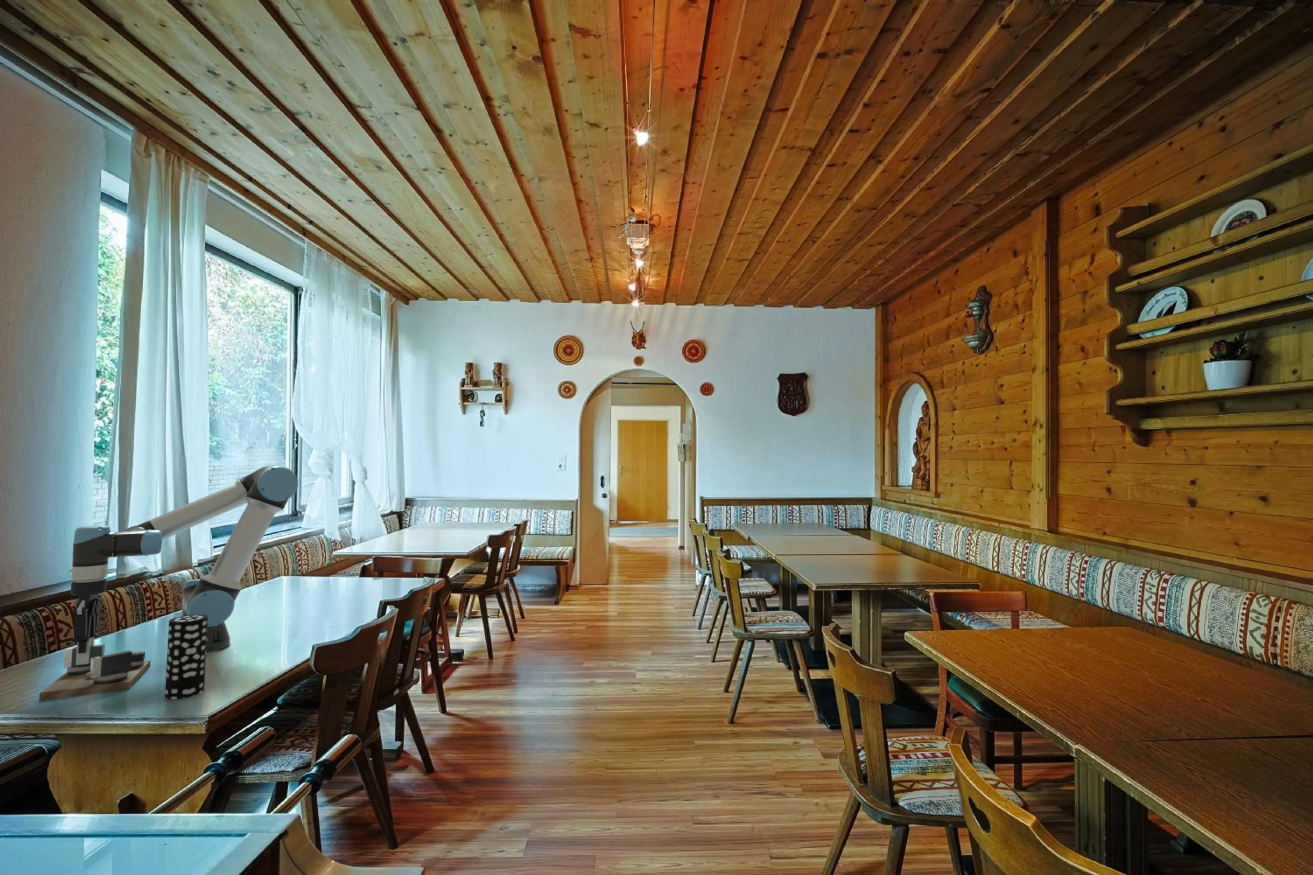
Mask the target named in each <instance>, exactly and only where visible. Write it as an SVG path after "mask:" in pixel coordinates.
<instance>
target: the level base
mask: <svg viewBox="0 0 1313 875" xmlns="http://www.w3.org/2000/svg"><path fill="white" fill-rule="evenodd" d="M151 661H152V660H151V659H149V660H144V664H143V665H142V666H139V667H136V668H132V669H131V670H128V677H126V678H125V679H122V680H119V681H115V682H110V683H94V682H93V679H94V678H93V679H92V678H91V677H90V672H88V673H83V674H67V671H66V672H65V673H63V674H62V675H61V676H59V677H58V678H57V679H56V680H54V681H53V682H51V684H49V685H48V686H47V687H45V688H43V690H41V691H40V692H39V696H38V697H39V699H38V701H39V700H40V701H46V700H45V699H48V700H56V699H63V698H70V697H77V696H86V695H93V694H101V693H102V694H103V693H109V692H110V693H111V692H117V691H118V692H119V691H126V690H130V689H131V688H132V687H133V686H134V684H136V682H138V680H140V678H141V677H143V675H144V674H145V673H146V672H147V671H148V670H149V669H150V668H151ZM149 667H150V668H149ZM148 668H149V669H148Z"/></svg>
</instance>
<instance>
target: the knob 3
mask: <svg viewBox="0 0 1313 875" xmlns="http://www.w3.org/2000/svg"><path fill="white" fill-rule="evenodd" d="M145 659H146V651H145V650H144V651H138V652H137V651H136V652H132V662H131V669H132V668H136V667H139V666H142V665H143V664H144V661H145Z"/></svg>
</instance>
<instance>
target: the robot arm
mask: <svg viewBox="0 0 1313 875" xmlns="http://www.w3.org/2000/svg"><path fill="white" fill-rule="evenodd" d="M298 487H299V479H298V477H297V475H296V473H295V472H294V471H293V470H291V469H290V468H288V467H286V466H283V465H276V464H275V465H265V466H263V467H261V468H258V469H257V470H254V471H253V472H251V473H249V474H247V475H245V476H243V477H241V478H238V479H236V481H235V483H234V484H232V485H229V486H227V487H224V488H222V489H220V490H217V491H215V492H214V493H213V492H212V493H210V494H208V495H206V496H203V497H201V498H199V499H197V500H193V501H192V502H190V503H187V504H184V505H182V506H179V507H178V508H176V509H173V510H170V511H168V512H165V513H163V514H161V515H158V516H157V517H156V516H155V517H154V518H151V519H149V520H147V521H144V522H142V523H140V524H137V525H132V526H130V527H127V528H126V529H125V530H124V531H111V528H110V526H109V525H106V524H105V525H104V524H103V525H102V524H101V525H100V524H99V525H82V526H78V527H77V528H76V529H75V530H74V536H73V543H72V566H71V568H70V569H69V572H70V573H71V580H72V581H71V583H70V595H71V596H73V597H74V596H76V597H77V596H78V601H77V602H76V607H74V608H73V609H72V611H73V619H74V620H73V637H74V638H73V640H72V643H76V647H77V652H76V665H81V664H89V661H90V646H93V645H95V637H98V636H99V633H98V632H99V630H98V629H99V620H100V619H99V618H100V617H99V616H100V612H101V610H100V609H101V604H102V598H100V597H99V595H100V594H103V593H105V592H107V588H108V586H107V585H108V580H107V579H106V578H107V577H108V572H109V558H120V557H121V558H122V557H123V558H124V557H137V556H138V557H140V556H141V557H142V556H145V557H147V556H151V555H152V556H153V555H158V554H160V553H161V552H162V545H163V541H164V540H167V539H168V538H171V537H173V536H175V535H177V534H180V533H181V532H184V531H187V530H188V529H192V528H193V527H195V526H199V525H200V524H202V523H204V522H207V521H209V520H212V519H214V518H215V517H218V516H220V515H222V514H225V513H227V512H229V511H233V510H234V509H236V508H238V507H241V506H244V505H245V504H247V505H246V507H245V509H244V510H243V512H242V514H241V515H240V517H239V519H238V521H237V523H236V524H235V526H234V528H233V530H232V532H231V534H230V536H229V538H228V540H227V541H226V543H225V545H224V547H223V548H222V551H221V552H220V554H219V556H218V558H217V559H216V561H215V563H214V565H213V567H212V569H211V571H210V572H209V573H208V574H207V575H206V574H205V575H203V576H201V577H200V578H197V579H190V580H189V579H188V580H186V581H184V583H183V587H182V590H181V592H182V604H181V605H182V606H181V616H187V615H207V616H208V626H207V645H206V653H210V651H211V652H214V651H213V650H215V651H218V649H219V650H221V648H222V649H224V648H223V647H225V646H227V647H228V646H229V645H230V644H231V636H230V634H229V630H228V628H227V625H226V621H227V620H228V619H229V618H230V617H231V615H232V613H233V612H234V608H235V603H236V599H238V598H237V597H238V596H239V594H240V592H241V590H242V585H241V582H240V581H241V579H242V577H243V575H244V574H245V571H247V570H246V569H247V568H248V565H249V564H250V562H251V561H252V559H253V556H254V554H255V552H256V550H257V549H258V547H259V545H260V543H261V542H262V540H263V538H264V536H265V534H266V532H267V530H268V529H269V527H270V525H271V523H272V521H273V518H274V517H275V516H276V514H277V513H279V512H282V511H283V510H284V508H285V507H286V505H287V503H288V501H289V500H290V498H292V497H293V496H294V495H295V493H296V492H297V490H298ZM225 648H226V647H225Z"/></svg>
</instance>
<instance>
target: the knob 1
mask: <svg viewBox="0 0 1313 875" xmlns="http://www.w3.org/2000/svg"><path fill="white" fill-rule="evenodd" d="M105 648H106V644H94V645H93V646H90V661H89V664H81V665H76V652H77V646H73V647H67V648H65V649H64V652H63V655H64V656H63V657H64V658H63V669H66V672H67V674H83V673H88V672H90V667H91V658H93V657H98V656H99V657H100V656H105V651H106V650H105Z"/></svg>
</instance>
